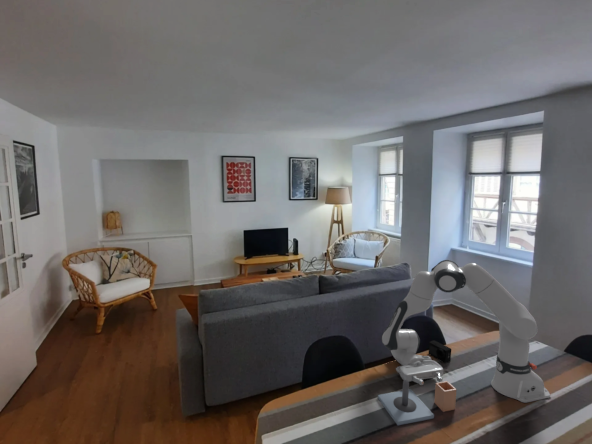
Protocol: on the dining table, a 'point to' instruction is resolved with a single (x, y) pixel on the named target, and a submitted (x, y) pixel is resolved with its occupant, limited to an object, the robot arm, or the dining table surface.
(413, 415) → the post board
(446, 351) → the digital camera
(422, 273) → the robot arm
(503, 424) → the dining table surface
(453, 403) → the sleeve
